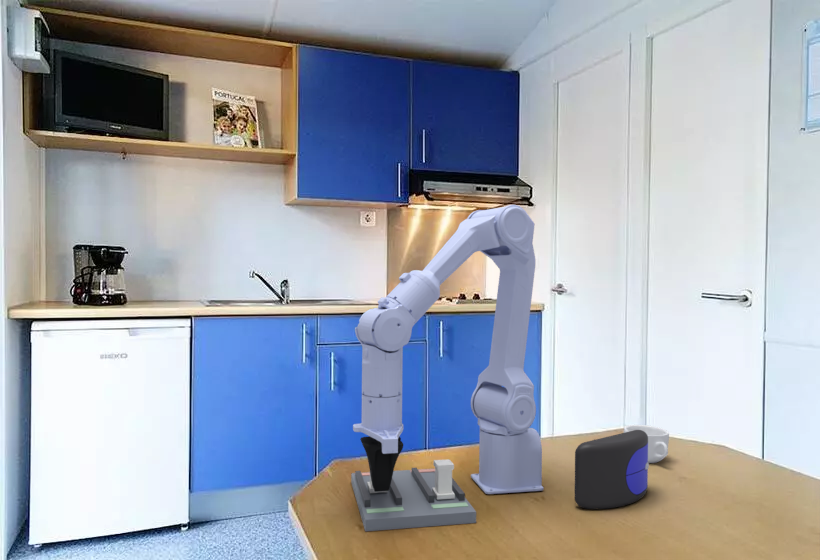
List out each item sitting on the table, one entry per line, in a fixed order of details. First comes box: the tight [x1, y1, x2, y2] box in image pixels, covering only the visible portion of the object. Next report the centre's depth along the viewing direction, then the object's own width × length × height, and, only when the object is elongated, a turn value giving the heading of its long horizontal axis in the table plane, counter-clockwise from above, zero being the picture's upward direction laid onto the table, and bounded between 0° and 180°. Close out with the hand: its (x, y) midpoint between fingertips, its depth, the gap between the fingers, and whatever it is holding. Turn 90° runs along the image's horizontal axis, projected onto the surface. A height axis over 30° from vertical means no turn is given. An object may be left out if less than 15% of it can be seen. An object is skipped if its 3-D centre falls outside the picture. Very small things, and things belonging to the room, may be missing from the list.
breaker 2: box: [432, 459, 455, 500], centre depth 83 cm, size 3×3×5 cm
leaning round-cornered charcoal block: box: [574, 430, 650, 510], centre depth 86 cm, size 16×5×9 cm, turn 125°
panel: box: [350, 467, 477, 532], centre depth 85 cm, size 15×18×2 cm
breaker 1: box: [367, 475, 388, 493], centre depth 85 cm, size 3×3×5 cm
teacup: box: [623, 424, 670, 464], centre depth 105 cm, size 10×8×5 cm
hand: (381, 489), depth 82 cm, fingers closed
